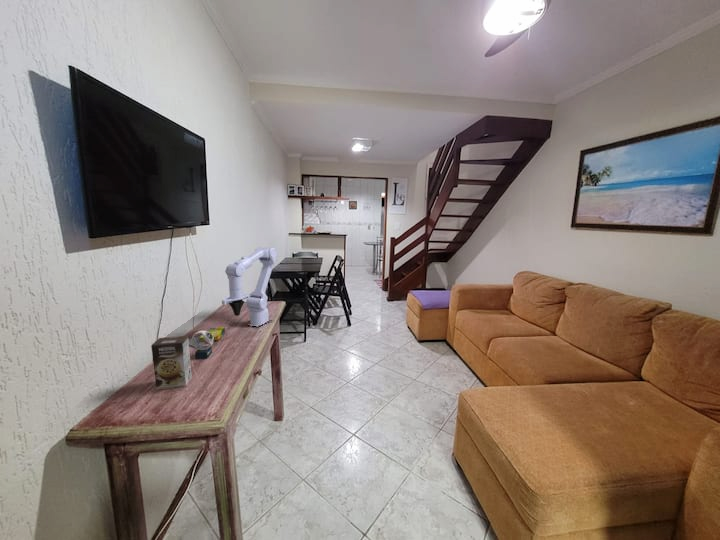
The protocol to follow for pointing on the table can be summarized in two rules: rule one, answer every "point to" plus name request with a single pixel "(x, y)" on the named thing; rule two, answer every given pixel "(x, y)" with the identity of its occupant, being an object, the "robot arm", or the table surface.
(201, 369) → the table surface
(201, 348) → the watch
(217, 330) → the crayon box
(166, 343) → the cookie box
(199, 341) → the mat
